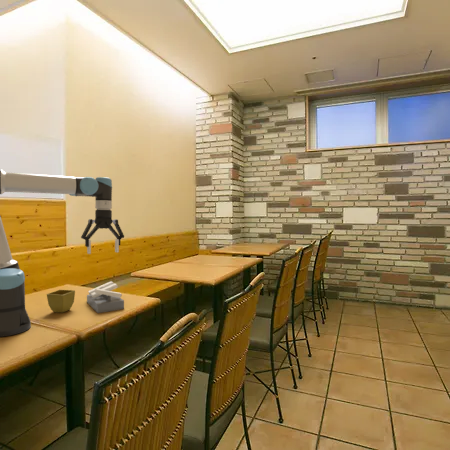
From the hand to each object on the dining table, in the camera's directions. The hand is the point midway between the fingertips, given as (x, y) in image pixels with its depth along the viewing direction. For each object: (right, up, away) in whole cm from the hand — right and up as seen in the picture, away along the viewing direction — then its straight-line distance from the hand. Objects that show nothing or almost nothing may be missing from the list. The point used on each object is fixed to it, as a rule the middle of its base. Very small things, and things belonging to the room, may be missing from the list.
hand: (103, 253), depth 162 cm
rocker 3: (+4, -19, -5) cm, 20 cm away
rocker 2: (0, -18, +1) cm, 18 cm away
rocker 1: (-3, -18, +6) cm, 19 cm away
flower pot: (-16, -27, -8) cm, 32 cm away
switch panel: (0, -26, +1) cm, 26 cm away
